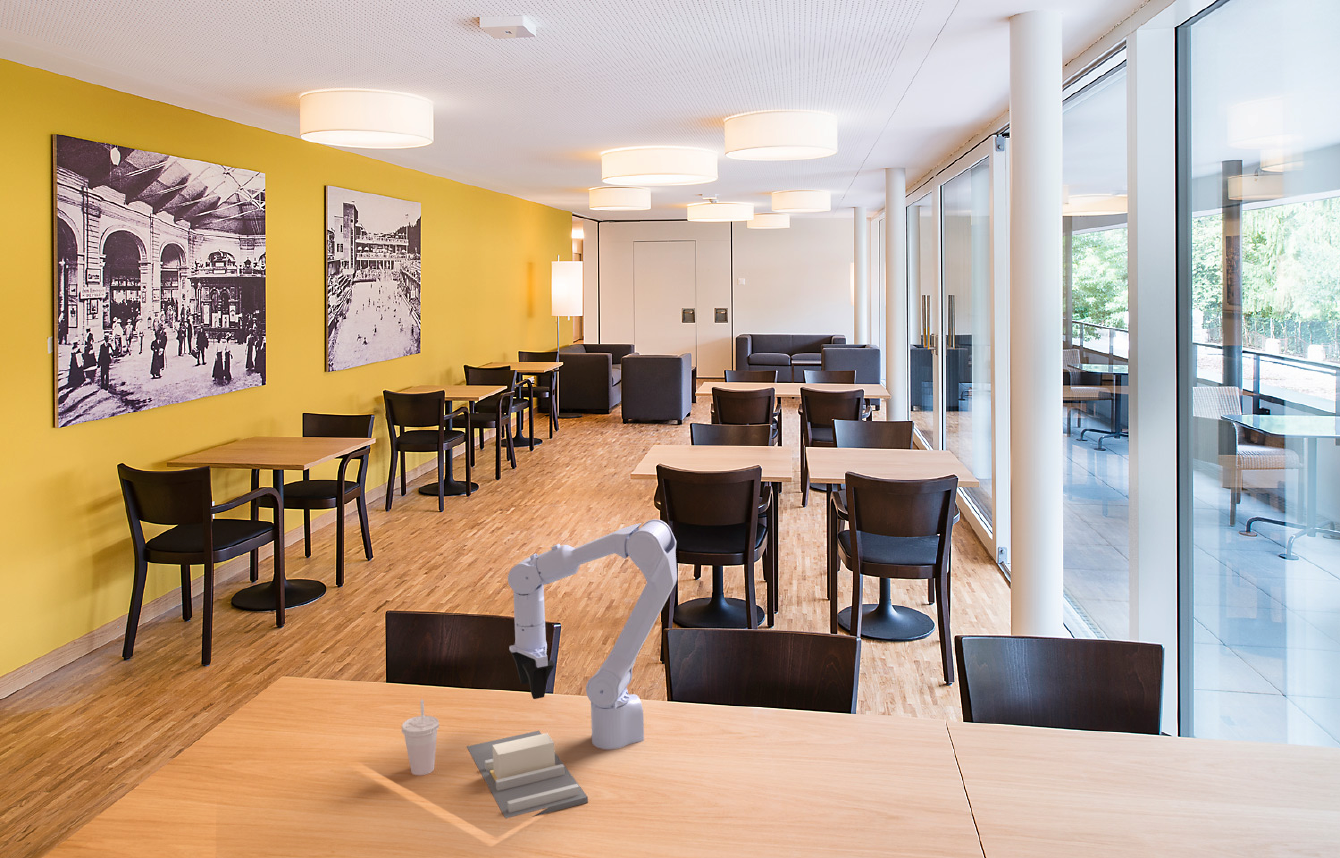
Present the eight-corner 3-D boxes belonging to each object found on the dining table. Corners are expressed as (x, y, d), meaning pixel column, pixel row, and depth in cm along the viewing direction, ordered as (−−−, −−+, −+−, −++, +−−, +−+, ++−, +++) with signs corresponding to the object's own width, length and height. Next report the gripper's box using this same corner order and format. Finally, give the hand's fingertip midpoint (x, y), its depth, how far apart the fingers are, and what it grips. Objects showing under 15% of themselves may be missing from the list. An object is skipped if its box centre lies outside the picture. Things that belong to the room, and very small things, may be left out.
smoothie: (431, 785, 158) (427, 709, 156) (397, 782, 159) (393, 706, 157) (447, 767, 164) (443, 693, 162) (414, 764, 165) (410, 691, 164)
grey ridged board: (539, 735, 176) (538, 723, 176) (587, 802, 152) (587, 788, 151) (467, 751, 170) (466, 738, 170) (505, 824, 146) (505, 809, 145)
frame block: (548, 759, 164) (547, 733, 164) (555, 769, 161) (554, 742, 160) (493, 772, 160) (492, 745, 159) (499, 782, 156) (498, 755, 156)
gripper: (499, 613, 177) (501, 680, 179) (520, 637, 164) (522, 709, 166) (534, 608, 180) (536, 673, 182) (557, 631, 167) (559, 701, 169)
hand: (532, 690), depth 174 cm, fingers open, 7 cm apart
